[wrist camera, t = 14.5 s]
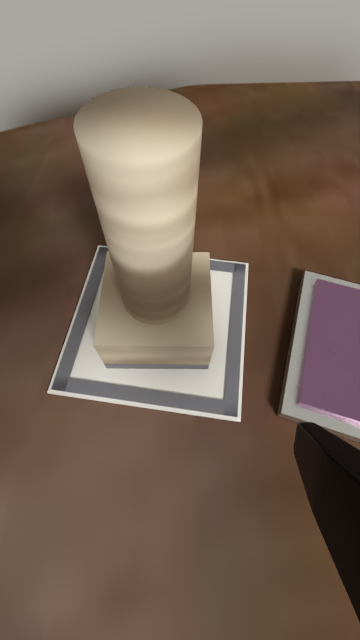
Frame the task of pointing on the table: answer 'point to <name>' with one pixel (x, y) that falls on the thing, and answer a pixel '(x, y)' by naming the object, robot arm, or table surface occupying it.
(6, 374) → the table surface
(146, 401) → the marked card
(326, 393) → the ink pad
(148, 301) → the stamp
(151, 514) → the table surface
